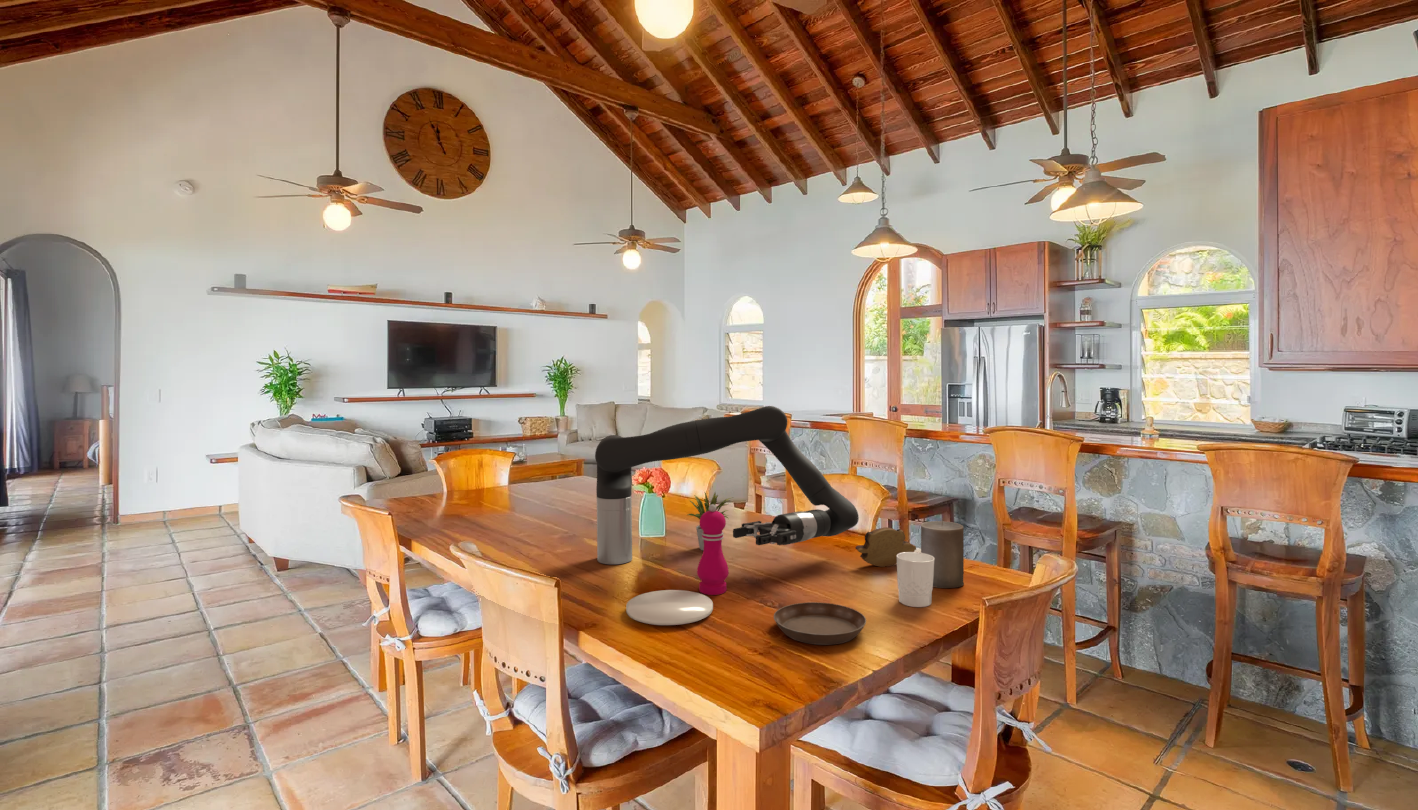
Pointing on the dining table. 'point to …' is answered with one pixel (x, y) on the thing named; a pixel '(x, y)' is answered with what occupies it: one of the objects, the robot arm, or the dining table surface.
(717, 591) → the pepper mill
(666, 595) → the plate
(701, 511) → the house plant
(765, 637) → the dining table surface
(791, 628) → the plant saucer
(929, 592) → the white cup
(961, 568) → the pillar candle
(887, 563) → the wooden carving
